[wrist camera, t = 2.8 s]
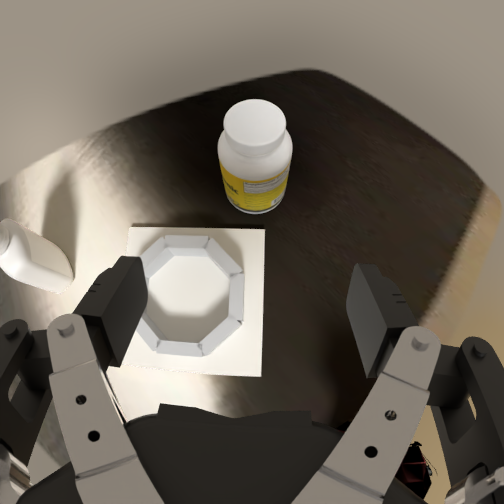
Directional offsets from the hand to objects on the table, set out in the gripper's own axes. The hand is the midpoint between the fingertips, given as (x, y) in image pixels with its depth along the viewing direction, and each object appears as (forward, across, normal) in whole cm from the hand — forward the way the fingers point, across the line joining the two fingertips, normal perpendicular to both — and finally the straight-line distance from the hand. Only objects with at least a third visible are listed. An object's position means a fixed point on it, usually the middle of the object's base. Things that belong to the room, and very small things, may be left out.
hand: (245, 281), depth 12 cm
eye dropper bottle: (+12, +19, +8) cm, 24 cm away
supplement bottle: (+18, 0, +2) cm, 18 cm away
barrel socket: (+10, +5, +9) cm, 15 cm away
